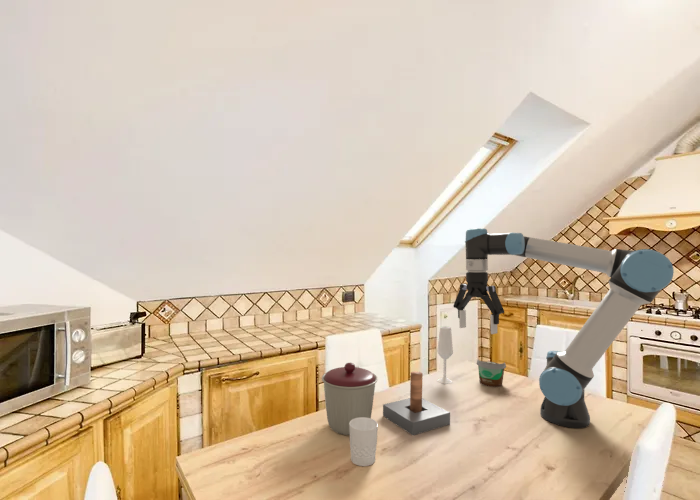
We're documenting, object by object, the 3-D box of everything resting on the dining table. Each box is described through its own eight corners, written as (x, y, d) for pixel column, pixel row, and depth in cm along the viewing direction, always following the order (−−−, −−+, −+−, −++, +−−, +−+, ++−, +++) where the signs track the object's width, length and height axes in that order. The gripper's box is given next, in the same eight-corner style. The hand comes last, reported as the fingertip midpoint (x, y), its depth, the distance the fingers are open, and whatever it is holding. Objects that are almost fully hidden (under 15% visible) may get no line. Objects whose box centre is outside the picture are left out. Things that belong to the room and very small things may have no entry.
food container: (473, 384, 166) (474, 361, 166) (476, 380, 171) (476, 358, 171) (504, 390, 160) (504, 366, 160) (505, 385, 165) (506, 362, 165)
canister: (329, 413, 134) (330, 353, 134) (380, 418, 131) (381, 357, 131) (313, 438, 117) (315, 369, 117) (372, 445, 113) (373, 374, 113)
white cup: (349, 451, 109) (349, 416, 109) (376, 452, 109) (377, 417, 109) (348, 467, 101) (348, 429, 101) (377, 468, 101) (378, 430, 101)
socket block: (449, 424, 127) (450, 412, 127) (412, 435, 119) (412, 422, 119) (418, 406, 141) (418, 396, 141) (382, 415, 133) (383, 404, 133)
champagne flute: (446, 377, 174) (447, 325, 174) (455, 382, 168) (456, 328, 168) (434, 379, 172) (434, 326, 172) (442, 384, 165) (443, 329, 165)
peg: (424, 421, 130) (425, 374, 130) (415, 423, 127) (415, 375, 127) (416, 416, 133) (417, 370, 133) (407, 418, 131) (408, 372, 131)
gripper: (443, 270, 146) (444, 326, 146) (500, 272, 125) (501, 337, 125) (456, 270, 150) (457, 324, 150) (514, 272, 129) (515, 334, 129)
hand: (477, 330), depth 137 cm, fingers open, 13 cm apart
